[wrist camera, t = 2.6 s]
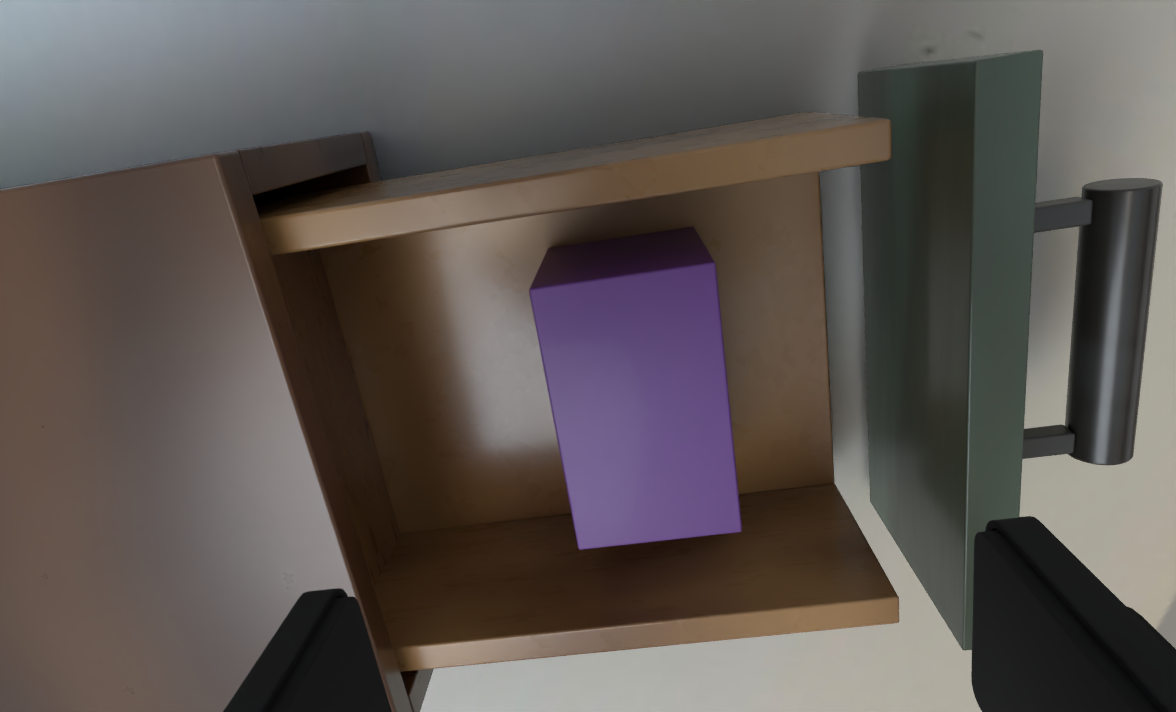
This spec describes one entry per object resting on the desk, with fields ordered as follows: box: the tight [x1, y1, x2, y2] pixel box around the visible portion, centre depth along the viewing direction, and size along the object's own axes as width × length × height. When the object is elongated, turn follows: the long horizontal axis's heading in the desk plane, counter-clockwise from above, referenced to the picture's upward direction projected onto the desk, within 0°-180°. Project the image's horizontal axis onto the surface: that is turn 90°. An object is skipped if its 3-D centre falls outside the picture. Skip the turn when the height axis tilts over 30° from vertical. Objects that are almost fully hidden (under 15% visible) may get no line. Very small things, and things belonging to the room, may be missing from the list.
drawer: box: [256, 50, 1163, 672], centre depth 19 cm, size 22×14×7 cm, turn 99°
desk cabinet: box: [0, 131, 434, 712], centre depth 21 cm, size 19×15×9 cm
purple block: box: [529, 227, 742, 550], centre depth 19 cm, size 7×4×5 cm, turn 9°
